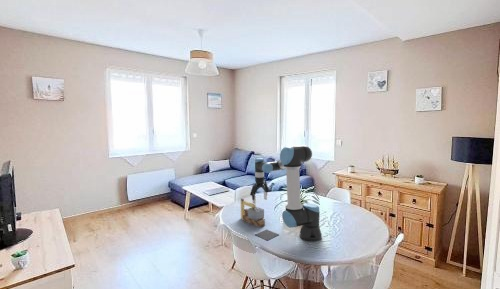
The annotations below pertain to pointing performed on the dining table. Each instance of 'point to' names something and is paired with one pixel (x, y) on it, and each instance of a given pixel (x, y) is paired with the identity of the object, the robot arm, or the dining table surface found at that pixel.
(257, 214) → the light grey block
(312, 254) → the dining table surface
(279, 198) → the dining table surface
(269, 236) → the mat
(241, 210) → the tan wooden flat frame
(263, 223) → the plane body
